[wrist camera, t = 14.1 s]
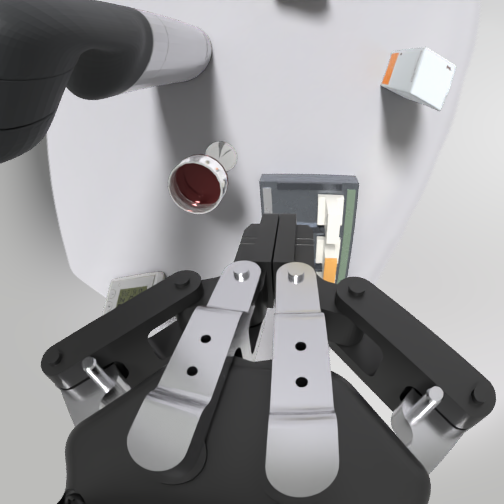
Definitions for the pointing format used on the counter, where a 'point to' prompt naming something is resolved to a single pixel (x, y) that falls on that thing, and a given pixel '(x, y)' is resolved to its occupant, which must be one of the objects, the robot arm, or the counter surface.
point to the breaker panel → (313, 206)
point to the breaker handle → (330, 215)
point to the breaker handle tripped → (327, 257)
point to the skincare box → (419, 76)
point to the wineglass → (202, 178)
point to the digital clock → (129, 288)
